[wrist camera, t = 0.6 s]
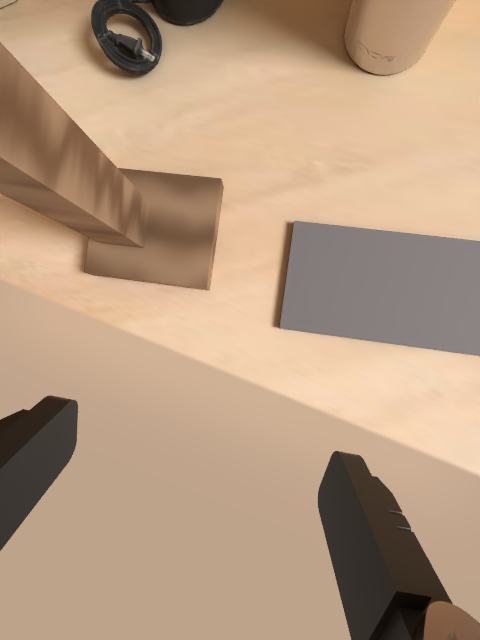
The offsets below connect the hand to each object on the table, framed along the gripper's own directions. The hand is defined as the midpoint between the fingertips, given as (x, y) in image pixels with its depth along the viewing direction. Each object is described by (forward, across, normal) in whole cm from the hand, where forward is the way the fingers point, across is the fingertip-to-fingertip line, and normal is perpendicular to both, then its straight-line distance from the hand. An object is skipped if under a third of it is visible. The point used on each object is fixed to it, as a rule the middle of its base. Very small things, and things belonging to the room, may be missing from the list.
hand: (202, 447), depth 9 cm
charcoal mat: (+24, -18, -4) cm, 31 cm away
